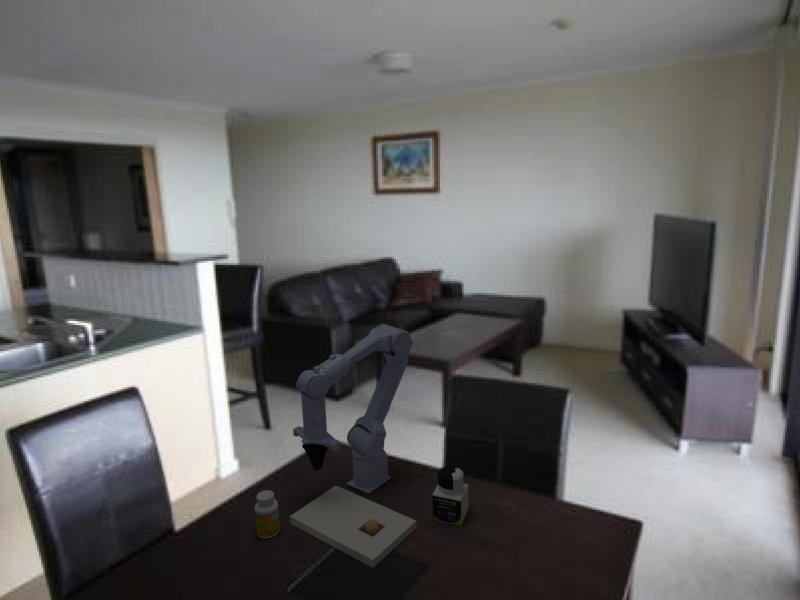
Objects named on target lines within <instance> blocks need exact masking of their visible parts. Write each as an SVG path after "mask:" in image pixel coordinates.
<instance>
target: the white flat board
mask: <svg viewBox="0 0 800 600" xmlns="http://www.w3.org/2000/svg"><path fill="white" fill-rule="evenodd" d="M371 519H373V520H376V521H377V522H378V523H379V527H380V528H379V532H378V533H377V534H376V535H374V536H370V535H368V534H367V533H366V532H365V528H364V527H365V524H366V522H367V521H368V520H371ZM289 522H290V523H289V524H290V525H293V526H294V527H296V528H298V529H299V530H301V531H303V532H305V533H307V534H308V535H311V536H312V537H314V538H317V539H318V540H319V541H322V542H323V543H326V544H328V545H329V546H331V547H333V548H335V549H337V550H338V551H340V552H342V553H344V554H346V555H347V556H349V557H351V558H353V559H355V560H357V561H359V562H361V563H362V564H365V565H366V566H368V567H370V568H371V569H374V568H376V566H377V565H379V563H381V561H383V560H384V559H385V558H386V557H387V556H388V555H390V554H391V553H392V551H394V550H395V549H396V548H397V547H398V546H399V545H400V544H401V543H402V542H403V541H404V540H406V538H408V537H409V536H410V535H411V534H412V533H414V531H415V530H416V529H417V520H415V519H413V518H412V517H409V516H406V515H404V514H402V513H399V512H397V511H395V510H392V509H391V508H388V507H386V506H384V505H381V504H379V503H377V502H374V501H372V500H370V499H368V498H366V497H363V496H360V495H359V494H356V493H354V492H352V491H349V490H347V489H345V488H343V487H340V486H337V485H334V486H333V487H331V488H330V489H328V490H327V491H325V492H324V493H322V494H321V495H320V496H318V497H316V498H315V499H314V500H312V501H311V502H308V503H307V504H306V505H304V506H303V507H301V508H300V509H298V510H297V511H296V512H294V513H293V514H291V515H289Z"/></svg>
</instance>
